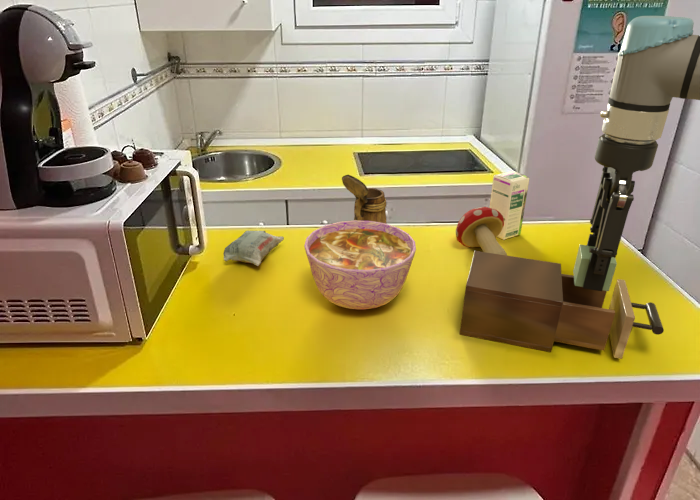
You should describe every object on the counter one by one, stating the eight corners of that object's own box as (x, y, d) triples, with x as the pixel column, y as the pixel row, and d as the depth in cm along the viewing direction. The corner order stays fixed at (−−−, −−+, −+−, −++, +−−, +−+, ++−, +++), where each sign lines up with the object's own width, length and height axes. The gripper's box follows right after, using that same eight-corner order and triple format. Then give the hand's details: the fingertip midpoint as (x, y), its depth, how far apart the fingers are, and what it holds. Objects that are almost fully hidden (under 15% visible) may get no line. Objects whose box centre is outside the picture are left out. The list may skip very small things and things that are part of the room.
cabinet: (550, 310, 95) (560, 263, 90) (551, 352, 84) (563, 301, 80) (468, 295, 99) (474, 250, 94) (459, 334, 88) (465, 285, 84)
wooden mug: (330, 247, 117) (330, 170, 108) (364, 226, 126) (366, 154, 118) (363, 258, 112) (365, 179, 104) (395, 235, 122) (399, 162, 113)
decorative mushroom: (519, 238, 102) (488, 188, 111) (468, 264, 104) (442, 213, 114) (531, 265, 110) (500, 216, 120) (483, 288, 112) (457, 239, 122)
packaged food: (284, 248, 116) (282, 228, 113) (259, 273, 106) (256, 252, 104) (249, 242, 118) (247, 222, 116) (221, 266, 108) (219, 245, 106)
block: (605, 276, 85) (613, 249, 83) (608, 291, 81) (617, 263, 78) (573, 270, 86) (579, 244, 84) (574, 285, 82) (581, 258, 80)
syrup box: (503, 240, 120) (513, 181, 113) (485, 231, 124) (493, 173, 118) (520, 235, 123) (531, 176, 116) (501, 226, 127) (511, 169, 120)
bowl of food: (340, 262, 110) (340, 212, 105) (428, 287, 102) (433, 234, 96) (284, 308, 95) (281, 252, 90) (382, 342, 86) (385, 283, 81)
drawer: (644, 323, 90) (657, 285, 86) (657, 365, 80) (672, 324, 76) (532, 304, 95) (540, 266, 91) (531, 341, 85) (540, 301, 82)
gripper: (594, 119, 81) (564, 251, 92) (606, 152, 66) (568, 305, 77) (647, 124, 79) (610, 258, 90) (672, 158, 64) (623, 314, 75)
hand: (591, 279), depth 83 cm, fingers closed on block, 5 cm apart
